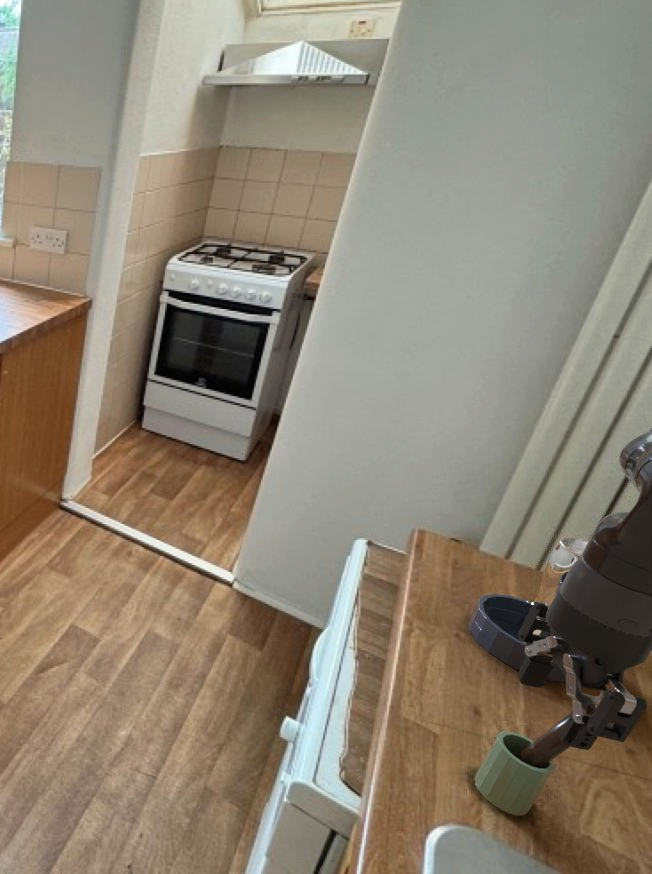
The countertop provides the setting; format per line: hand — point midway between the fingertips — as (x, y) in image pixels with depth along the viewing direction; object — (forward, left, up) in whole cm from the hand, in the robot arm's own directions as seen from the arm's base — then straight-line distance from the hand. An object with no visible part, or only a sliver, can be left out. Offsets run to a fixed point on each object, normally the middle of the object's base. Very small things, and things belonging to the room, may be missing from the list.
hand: (548, 712), depth 70 cm
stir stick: (+1, 0, -15) cm, 15 cm away
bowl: (-15, -29, -15) cm, 36 cm away
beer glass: (-24, -38, -16) cm, 48 cm away
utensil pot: (0, 0, -15) cm, 15 cm away
